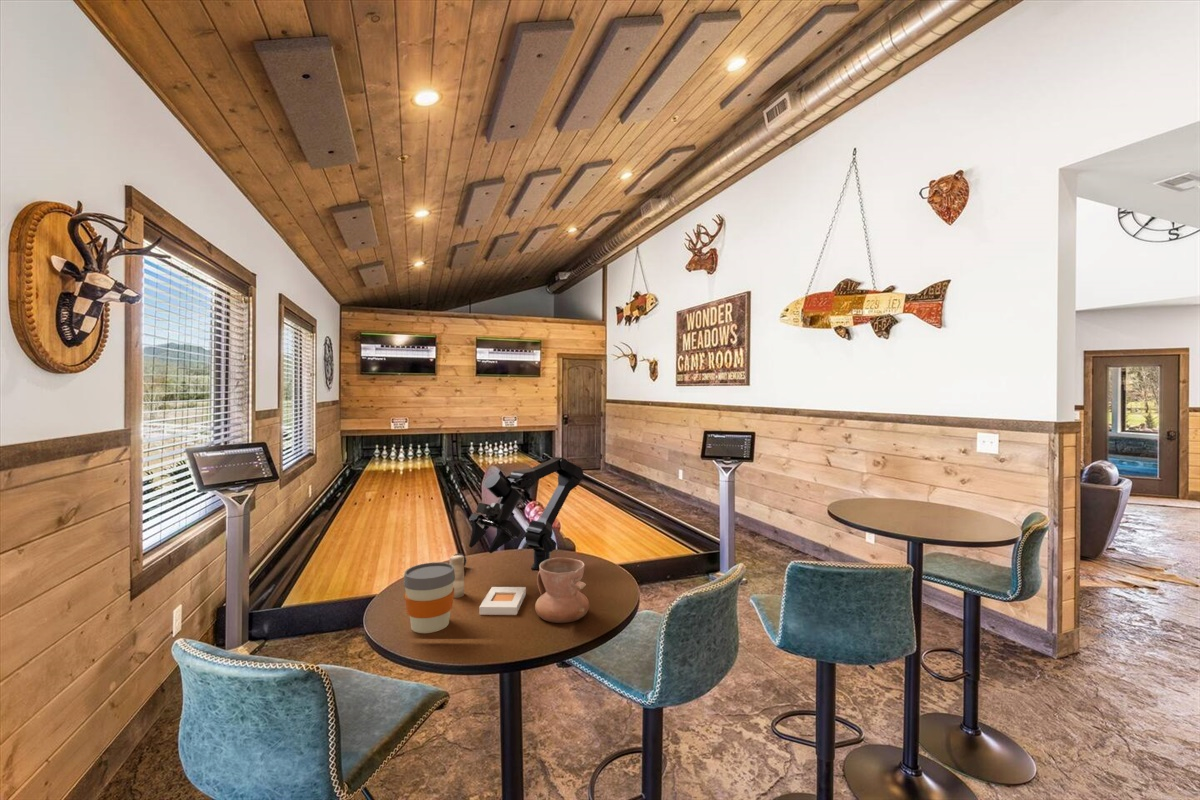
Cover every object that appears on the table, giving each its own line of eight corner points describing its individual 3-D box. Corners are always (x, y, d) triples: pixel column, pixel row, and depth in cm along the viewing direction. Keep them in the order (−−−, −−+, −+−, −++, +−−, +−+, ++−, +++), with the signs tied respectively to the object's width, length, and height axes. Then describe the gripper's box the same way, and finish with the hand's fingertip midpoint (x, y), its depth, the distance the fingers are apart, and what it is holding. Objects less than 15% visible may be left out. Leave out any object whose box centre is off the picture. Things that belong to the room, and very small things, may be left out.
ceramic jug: (603, 618, 137) (603, 565, 137) (562, 636, 127) (561, 579, 126) (560, 598, 150) (559, 550, 149) (519, 614, 140) (518, 562, 139)
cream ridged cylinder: (452, 595, 153) (452, 555, 152) (466, 595, 152) (465, 555, 152) (448, 601, 149) (447, 559, 148) (461, 601, 148) (461, 559, 148)
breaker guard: (491, 597, 151) (491, 586, 151) (525, 597, 151) (525, 587, 151) (479, 618, 137) (479, 607, 137) (516, 618, 137) (516, 607, 137)
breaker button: (496, 599, 147) (496, 594, 147) (515, 599, 147) (515, 594, 147) (491, 607, 141) (491, 602, 141) (511, 607, 141) (511, 602, 141)
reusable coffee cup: (437, 613, 140) (437, 558, 140) (465, 626, 132) (465, 568, 132) (394, 630, 131) (393, 571, 130) (421, 645, 123) (420, 583, 122)
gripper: (471, 488, 165) (444, 531, 157) (511, 495, 153) (483, 542, 145) (492, 506, 172) (466, 549, 164) (531, 514, 160) (506, 560, 152)
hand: (479, 549), depth 156 cm, fingers open, 9 cm apart
